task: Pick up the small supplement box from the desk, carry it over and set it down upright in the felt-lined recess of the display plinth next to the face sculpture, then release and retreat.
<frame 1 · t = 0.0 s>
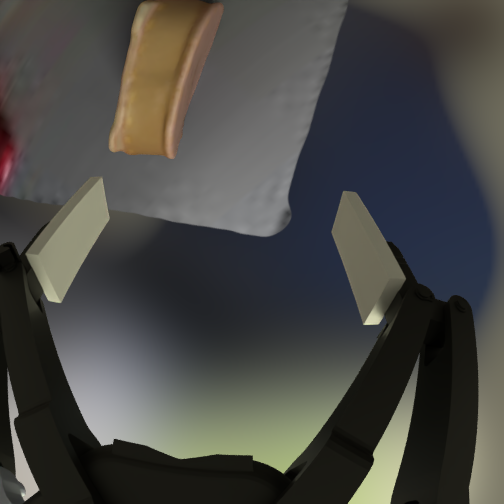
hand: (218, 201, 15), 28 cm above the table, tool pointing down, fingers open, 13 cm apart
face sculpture: (187, 70, 33), on the table
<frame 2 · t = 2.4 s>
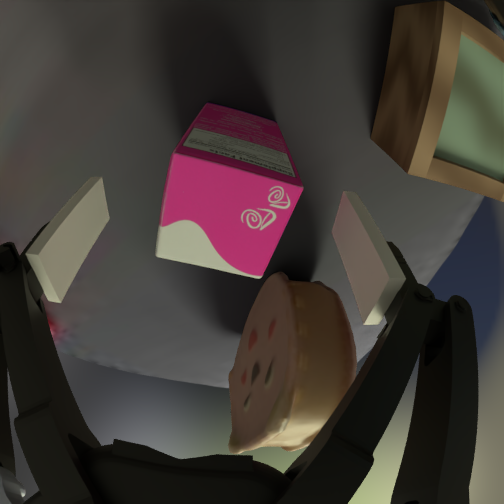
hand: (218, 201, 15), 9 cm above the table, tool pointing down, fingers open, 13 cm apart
supplement box: (232, 142, 21), on the table
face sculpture: (273, 309, 35), on the table
display plinth: (443, 93, 17), on the table
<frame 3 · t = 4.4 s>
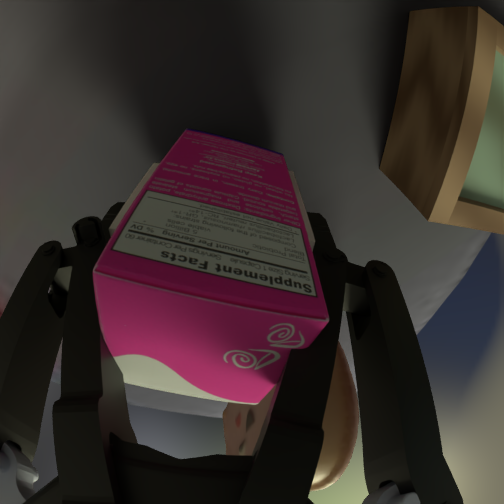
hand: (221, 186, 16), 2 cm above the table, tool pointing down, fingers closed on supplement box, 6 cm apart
supplement box: (224, 181, 17), point 2 cm above the table, touching gripper
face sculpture: (268, 349, 31), on the table
display plinth: (460, 113, 15), on the table
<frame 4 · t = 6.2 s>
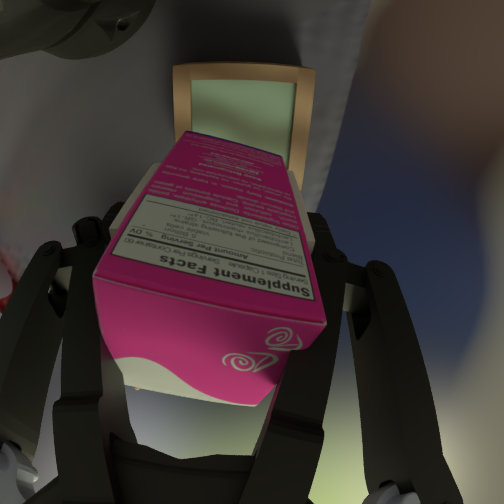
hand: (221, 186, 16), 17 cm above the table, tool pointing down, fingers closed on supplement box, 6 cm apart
supplement box: (223, 183, 17), point 16 cm above the table, touching gripper
display plinth: (243, 113, 29), on the table
when the fingers open (8 cm above the table, at t = 8.3 s): supplement box drops 1 cm, resting on display plinth.
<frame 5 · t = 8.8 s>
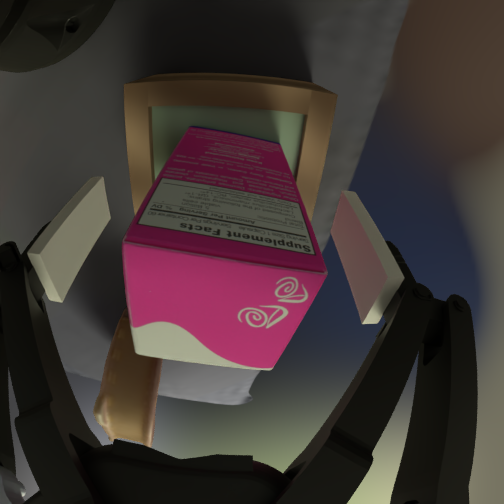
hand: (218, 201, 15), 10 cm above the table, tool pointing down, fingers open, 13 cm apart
supplement box: (227, 172, 18), point 6 cm above the table, touching display plinth
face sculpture: (148, 332, 39), on the table
display plinth: (229, 144, 22), on the table
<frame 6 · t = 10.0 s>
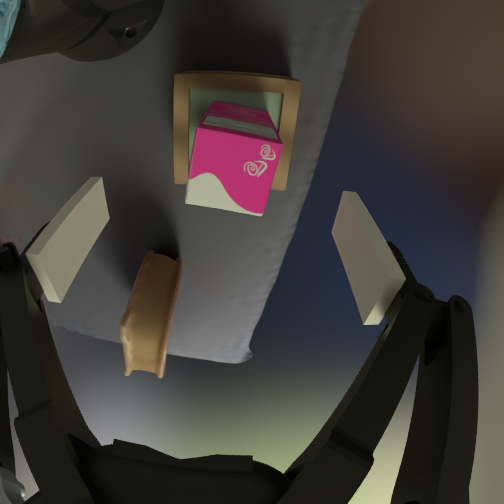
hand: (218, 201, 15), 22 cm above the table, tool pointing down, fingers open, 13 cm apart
supplement box: (236, 130, 27), point 6 cm above the table, touching display plinth
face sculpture: (164, 279, 49), on the table
display plinth: (235, 118, 32), on the table
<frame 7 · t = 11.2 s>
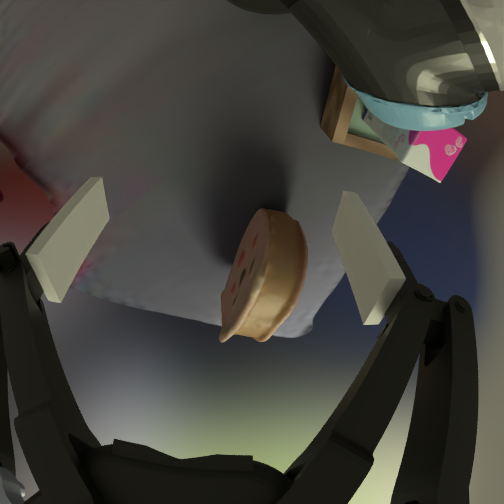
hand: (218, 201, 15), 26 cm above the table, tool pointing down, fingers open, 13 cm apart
supplement box: (389, 109, 28), point 6 cm above the table, touching display plinth
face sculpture: (257, 243, 50), on the table
display plinth: (369, 99, 33), on the table
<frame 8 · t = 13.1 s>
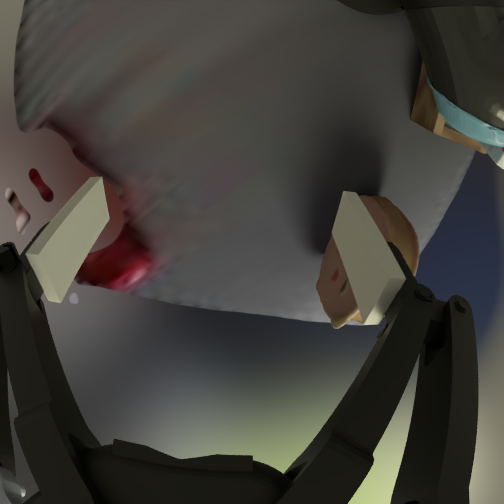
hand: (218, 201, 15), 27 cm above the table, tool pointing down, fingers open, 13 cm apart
supplement box: (472, 107, 27), point 7 cm above the table, touching arm, display plinth
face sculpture: (348, 230, 49), on the table
display plinth: (446, 96, 32), on the table
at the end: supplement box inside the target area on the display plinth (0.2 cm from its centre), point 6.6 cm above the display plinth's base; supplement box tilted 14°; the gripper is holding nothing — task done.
